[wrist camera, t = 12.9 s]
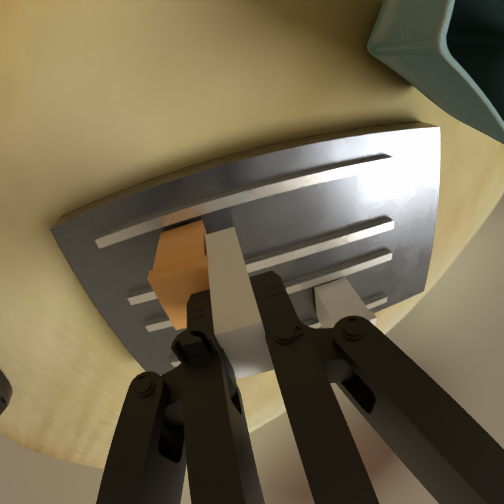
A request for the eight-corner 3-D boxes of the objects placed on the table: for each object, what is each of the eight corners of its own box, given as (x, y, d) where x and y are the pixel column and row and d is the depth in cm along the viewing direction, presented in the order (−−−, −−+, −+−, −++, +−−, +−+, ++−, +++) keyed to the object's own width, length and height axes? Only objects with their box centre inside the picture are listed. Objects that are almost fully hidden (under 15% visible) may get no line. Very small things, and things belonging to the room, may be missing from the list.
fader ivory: (315, 317, 20) (337, 362, 17) (312, 286, 19) (337, 332, 15) (346, 307, 21) (371, 348, 17) (346, 275, 19) (376, 317, 15)
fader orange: (178, 277, 16) (176, 330, 13) (158, 231, 15) (147, 279, 11) (219, 265, 17) (227, 316, 13) (203, 217, 15) (205, 262, 11)
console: (151, 359, 23) (150, 382, 21) (62, 215, 15) (46, 233, 13) (412, 278, 24) (427, 294, 22) (421, 122, 16) (445, 128, 14)
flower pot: (424, 122, 16) (521, 157, 9) (330, 60, 13) (437, 48, 6) (450, 39, 12) (539, 46, 5) (366, -29, 10) (456, -64, 2)
